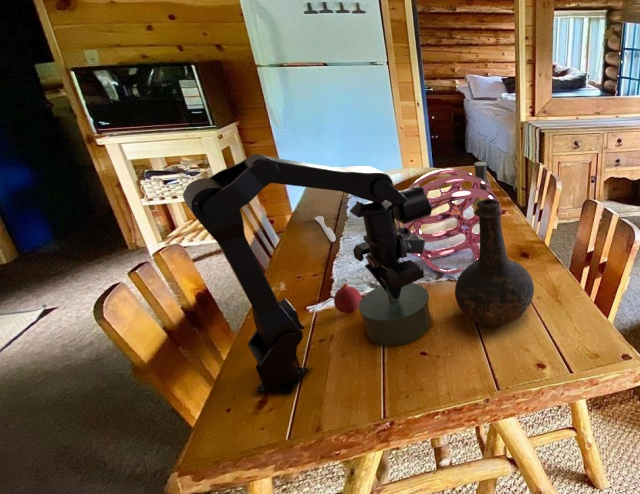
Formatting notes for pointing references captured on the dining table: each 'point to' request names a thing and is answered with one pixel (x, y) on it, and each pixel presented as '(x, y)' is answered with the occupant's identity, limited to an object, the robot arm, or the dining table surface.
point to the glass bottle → (493, 276)
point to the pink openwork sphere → (451, 214)
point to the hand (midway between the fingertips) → (393, 295)
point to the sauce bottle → (481, 173)
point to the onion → (347, 299)
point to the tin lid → (393, 303)
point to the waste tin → (398, 329)
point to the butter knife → (326, 228)
